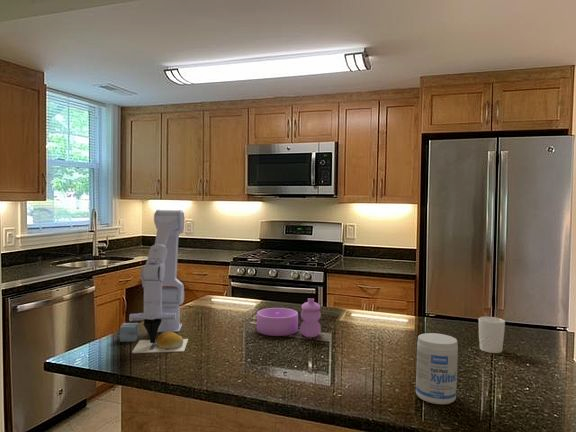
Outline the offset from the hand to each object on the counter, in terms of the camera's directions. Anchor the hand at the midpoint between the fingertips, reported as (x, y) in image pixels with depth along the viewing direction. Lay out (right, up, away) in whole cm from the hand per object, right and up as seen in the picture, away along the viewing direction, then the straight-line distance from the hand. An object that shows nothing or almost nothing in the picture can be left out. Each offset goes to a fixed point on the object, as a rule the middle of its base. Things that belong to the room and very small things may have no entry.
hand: (152, 342), depth 145 cm
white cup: (+110, -3, 0) cm, 110 cm away
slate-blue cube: (-10, -1, +7) cm, 13 cm away
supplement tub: (+81, -4, -35) cm, 88 cm away
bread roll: (+5, -1, +1) cm, 5 cm away
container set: (+44, -2, +19) cm, 48 cm away
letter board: (+3, -1, 0) cm, 3 cm away
